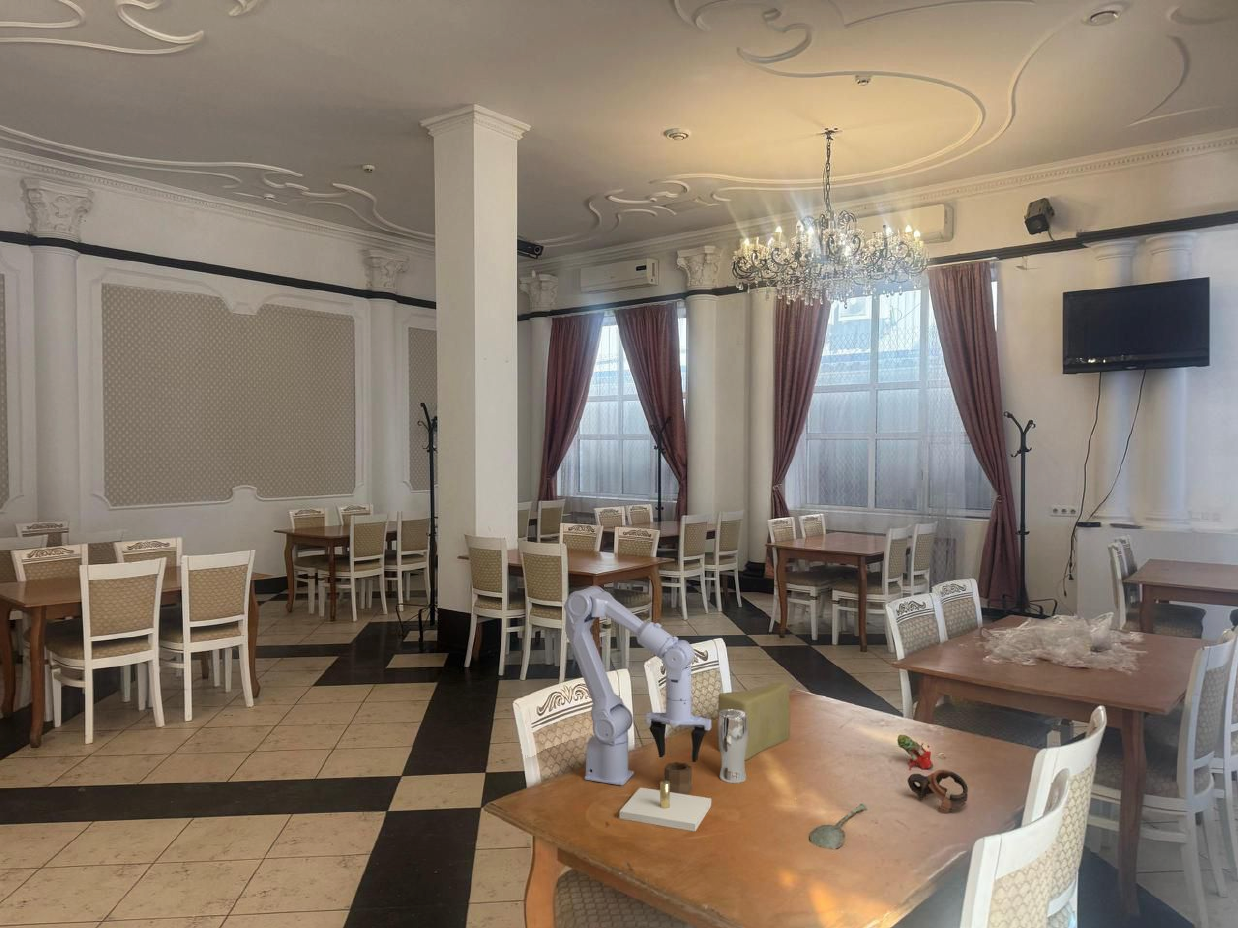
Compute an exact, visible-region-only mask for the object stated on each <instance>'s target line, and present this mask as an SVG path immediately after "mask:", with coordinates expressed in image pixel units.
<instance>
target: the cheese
mask: <svg viewBox="0 0 1238 928" xmlns="http://www.w3.org/2000/svg"><path fill="white" fill-rule="evenodd" d="M789 689H790V688H789V684H788V683H785V682H774V683H771V684H768V685H763V686H759V687H756V688H752V689H747V690H742V691H731V692H723V693H719V695H718V703H717V704H718V705H717V706H718V708H717V711H718V712H717V715H718V717H717V719H718V720H717V723H718V722H719V712H720V711H722V710H726V709H736V710H742V711H744V712H746V713H747V714H748V743H747V749H746V754H745V761H747V760H749V759H751V758H752V757H755V756H756V755H757V754H760V753H761V752H763V751H765V750H767V749H770V748H771V747H775V746H777V745H779V744H782V743H783V742H786V741H788V740H789V739H790V738H791V706H790V705H791V704H790V693H789V692H790V690H789ZM718 750H719V751H720V746H719V745H718Z"/></svg>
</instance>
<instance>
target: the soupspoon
mask: <svg viewBox="0 0 1238 928" xmlns="http://www.w3.org/2000/svg"><path fill="white" fill-rule="evenodd" d="M867 810H868V807H867V804H865V803H860V804H859V805H858V806H856V807H855V808H854V809H853V810H851V811H850V812H848V813H847V814H846V815H845V816H843V817H842V818H841V819H840V820H839V821H838V822H837V823H836V824H835V825H833V824H823V825H819V826H816V827H814V828H813V829H812V830H811V832H810V834H809V841H810V843H811V844H812V845H813V846H816V847H819V848H821V849H825V850H837V849H840V847H842V845H843V843H844V841H845V839H846V832H845V831H844V829H842V828H841V826H842V825H843V824H844V823H845V822H846V821H847V820H849V818H850V817H852V816H853V815H854V814H855V813H859V812H863V811H867Z"/></svg>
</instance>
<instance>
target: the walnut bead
mask: <svg viewBox="0 0 1238 928" xmlns="http://www.w3.org/2000/svg"><path fill="white" fill-rule="evenodd" d="M663 769H664V770H663V771H664V776H663V777H664V778H663V779H664V780H663V781H669V782H670V792H673V793H679V794H685V795H689V794H690V792H691V791H692V788H693V787H692V779H693V778H692V777H693V776H692V774H693V773H692V769H693V768H692V766H691V765H690V764H687V763H685V762H677V761H675V762H669V763H667V764H666V765H665V766H664V768H663Z"/></svg>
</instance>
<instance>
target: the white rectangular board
mask: <svg viewBox="0 0 1238 928" xmlns="http://www.w3.org/2000/svg"><path fill="white" fill-rule="evenodd" d="M711 806H712V798H710V797H704V796H699V795H697V796H696V795H691V794H679V793H673V792H670V807H669V808H667V809H663V808H661V807H660V790H659V789H651V788H646V787H641V786H640V787H639V788H638V789H637V790H636V792H635V793H634V794H633V795H632V796H631V798H629V800H628V801H627V802H626V803H625V804H624V805H623V806H622V807H621V809H619V813H618V815H619V816H618V817H619V819H620V820H625V821H633V822H637V823H643V824H648V825H656V826H659V827H660V826H662V827H666V828H671V829H678V830H684V831H688V832H689V831H691V832H696V831H697V830H698V828H699V826H700V824H701V823H702V822H703V820H704V818H705V817H706V815H707V813H708V811H709V810H710V808H711Z"/></svg>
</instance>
